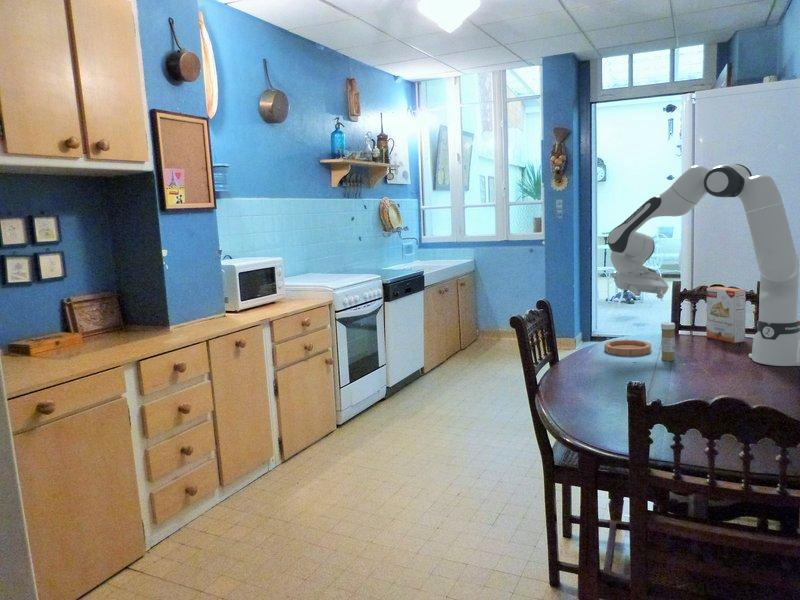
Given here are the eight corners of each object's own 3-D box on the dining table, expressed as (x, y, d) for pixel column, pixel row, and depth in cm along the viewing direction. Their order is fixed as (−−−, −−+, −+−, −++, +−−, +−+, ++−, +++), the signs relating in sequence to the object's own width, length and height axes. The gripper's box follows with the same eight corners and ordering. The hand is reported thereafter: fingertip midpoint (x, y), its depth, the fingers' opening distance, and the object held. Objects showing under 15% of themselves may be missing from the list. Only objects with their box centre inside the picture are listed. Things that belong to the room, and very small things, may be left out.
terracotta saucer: (624, 344, 244) (624, 338, 244) (660, 350, 230) (660, 344, 230) (596, 350, 236) (595, 344, 235) (631, 357, 222) (631, 351, 221)
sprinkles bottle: (666, 357, 219) (666, 321, 217) (677, 359, 215) (677, 323, 213) (658, 359, 216) (658, 323, 215) (669, 362, 213) (669, 324, 211)
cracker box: (705, 337, 246) (705, 287, 243) (717, 336, 248) (717, 285, 245) (733, 343, 233) (734, 290, 230) (745, 342, 234) (746, 289, 232)
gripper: (613, 265, 228) (627, 285, 216) (661, 271, 232) (677, 291, 220) (606, 278, 231) (620, 299, 220) (653, 284, 235) (670, 305, 224)
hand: (649, 295), depth 220 cm, fingers open, 8 cm apart
